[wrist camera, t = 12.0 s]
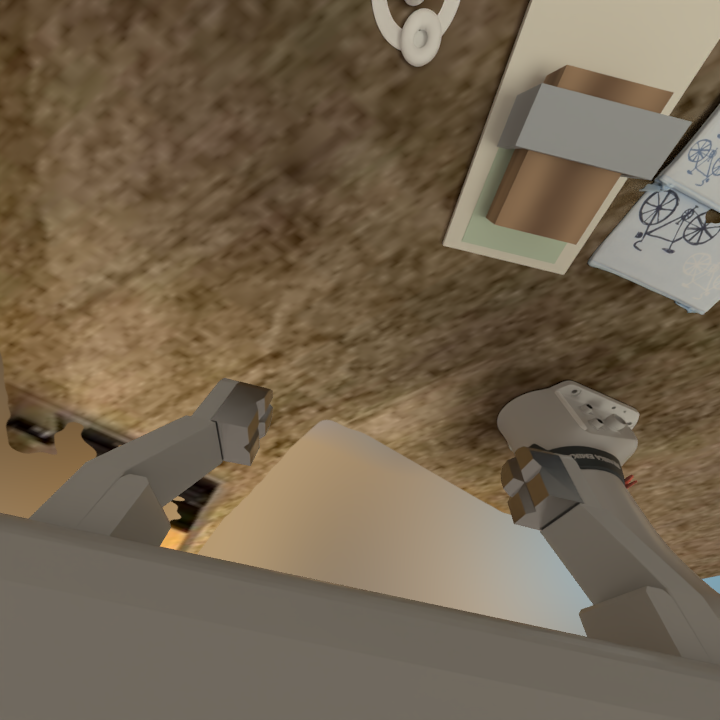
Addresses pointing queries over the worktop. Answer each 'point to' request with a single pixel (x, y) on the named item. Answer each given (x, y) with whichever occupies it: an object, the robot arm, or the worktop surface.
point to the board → (591, 52)
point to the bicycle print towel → (674, 228)
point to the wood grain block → (565, 168)
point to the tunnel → (591, 131)
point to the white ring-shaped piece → (415, 29)
